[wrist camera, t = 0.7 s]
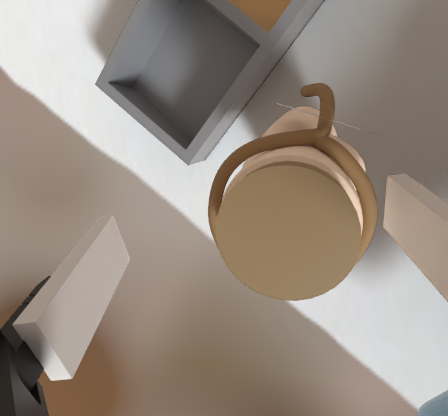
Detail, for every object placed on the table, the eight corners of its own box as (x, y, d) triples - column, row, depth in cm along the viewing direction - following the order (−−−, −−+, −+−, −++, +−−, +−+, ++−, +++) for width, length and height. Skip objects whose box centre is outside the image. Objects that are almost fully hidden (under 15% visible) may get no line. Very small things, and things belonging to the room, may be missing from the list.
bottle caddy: (382, -77, 29) (399, -126, 23) (205, 159, 40) (188, 165, 34) (268, -167, 29) (259, -236, 24) (124, 90, 40) (95, 84, 35)
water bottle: (263, 110, 36) (145, 63, 10) (343, 105, 34) (462, 29, 8) (264, 193, 39) (170, 330, 13) (338, 194, 36) (413, 367, 10)
